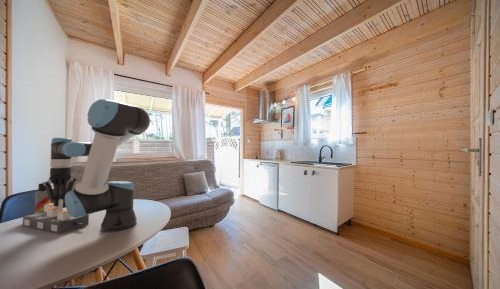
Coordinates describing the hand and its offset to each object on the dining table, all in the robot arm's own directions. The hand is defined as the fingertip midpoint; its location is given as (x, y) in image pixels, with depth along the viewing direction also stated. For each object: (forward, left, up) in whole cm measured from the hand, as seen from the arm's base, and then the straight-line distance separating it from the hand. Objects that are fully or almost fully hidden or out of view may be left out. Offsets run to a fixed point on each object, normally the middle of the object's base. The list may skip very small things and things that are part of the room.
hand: (59, 211), depth 93 cm
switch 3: (+10, -2, -1) cm, 10 cm away
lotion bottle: (+20, -4, -7) cm, 22 cm away
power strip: (-3, +1, -7) cm, 7 cm away
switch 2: (0, +2, -1) cm, 3 cm away
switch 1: (-10, +3, -1) cm, 11 cm away
